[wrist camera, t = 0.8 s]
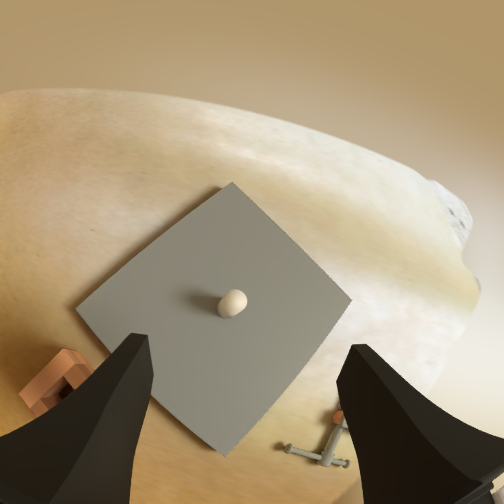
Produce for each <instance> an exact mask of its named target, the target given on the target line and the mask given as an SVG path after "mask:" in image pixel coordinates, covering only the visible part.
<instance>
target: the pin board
mask: <svg viewBox="0 0 504 504" xmlns="http://www.w3.org/2000/svg"><path fill="white" fill-rule="evenodd" d="M351 301H352V300H351V299H350V298H349V296H348V295H347V294H346V293H345V292H344V291H343V290H342V289H341V288H340V287H339V286H338V285H337V284H336V283H335V282H334V281H333V280H332V279H331V278H330V277H329V276H328V275H327V274H326V273H325V272H324V271H323V270H322V269H321V268H320V267H319V266H318V265H317V264H316V263H315V262H314V261H313V260H312V259H311V258H310V257H309V256H308V255H307V254H306V253H305V252H304V251H303V250H302V249H301V248H300V247H299V246H298V245H297V244H296V243H295V242H294V241H293V240H292V239H291V238H290V237H289V236H288V235H287V234H286V233H285V232H284V231H283V230H282V229H281V228H280V227H279V226H278V225H277V224H276V223H275V222H274V221H273V220H272V219H271V218H270V217H269V216H268V215H267V214H266V213H265V212H264V211H263V210H261V209H260V208H259V207H258V206H257V205H256V204H255V203H254V202H253V201H252V200H251V199H250V198H249V197H248V196H247V195H246V194H245V193H244V192H243V191H241V190H240V189H239V188H238V187H237V186H236V185H235V184H234V183H233V182H231V183H230V184H228V185H227V186H225V187H224V188H223V189H221V190H220V191H219V192H217V193H216V194H214V195H213V196H212V197H210V198H209V199H208V200H206V201H205V202H204V203H202V204H201V205H200V206H198V207H197V208H196V209H194V210H193V211H192V212H190V213H189V214H188V215H186V216H185V217H184V218H182V219H181V220H180V221H179V222H177V223H176V224H175V225H173V226H172V227H171V228H170V229H168V230H167V231H166V232H165V233H163V234H162V235H161V236H160V237H158V238H157V239H156V240H155V241H153V242H152V243H151V244H150V245H148V246H147V247H146V248H145V249H143V250H142V251H141V252H140V253H139V254H137V255H136V256H135V257H134V258H133V259H131V260H130V261H129V262H128V263H127V264H125V265H124V266H123V267H122V268H121V269H120V270H118V271H117V272H116V273H115V274H114V275H113V276H111V277H110V278H109V279H108V280H107V281H106V282H105V283H103V284H102V285H101V286H100V287H99V288H98V289H97V290H95V291H94V292H93V293H92V294H91V295H90V296H89V297H88V298H87V299H85V300H84V301H83V302H82V303H81V304H80V305H79V306H78V307H77V308H76V310H77V311H78V313H79V314H80V315H81V317H82V318H83V319H84V321H85V322H86V323H87V324H88V326H89V327H90V328H91V329H92V331H93V332H94V333H95V334H96V336H97V337H98V338H99V339H100V340H101V342H102V343H103V344H104V345H105V346H106V348H107V349H108V350H109V351H110V352H111V353H113V351H114V350H115V349H116V348H117V347H118V346H119V345H120V344H121V343H122V342H123V340H124V339H125V338H126V337H127V336H128V335H129V334H130V333H138V334H145V335H148V339H149V346H150V353H151V359H152V366H153V372H154V377H153V383H152V390H151V395H152V396H153V397H154V398H155V399H156V400H157V401H158V402H159V403H160V404H161V405H162V406H163V407H165V408H166V409H167V410H168V411H169V412H170V413H171V414H172V415H173V416H175V417H176V418H177V419H178V420H179V421H180V422H181V423H183V424H184V425H185V426H186V427H187V428H189V429H190V430H191V431H192V432H193V433H195V434H196V435H197V436H198V437H200V438H201V439H202V440H203V441H205V442H206V443H207V444H208V445H210V446H211V447H212V448H214V449H215V450H216V451H218V452H219V453H220V454H222V455H223V456H224V457H225V456H226V455H227V454H228V453H229V452H230V451H231V450H232V449H233V448H234V447H235V446H236V445H237V444H238V443H239V442H240V441H241V440H242V439H243V437H244V436H245V435H246V434H247V433H248V432H249V431H250V430H251V429H252V428H253V427H254V426H255V425H256V423H257V422H258V421H259V420H260V419H261V418H262V417H263V416H264V414H265V413H266V412H267V411H268V410H269V409H270V408H271V406H272V405H273V404H274V403H275V402H276V401H277V399H278V398H279V397H280V396H281V395H282V394H283V392H284V391H285V390H286V389H287V387H288V386H289V385H290V384H291V383H292V381H293V380H294V379H295V378H296V376H297V375H298V374H299V373H300V371H301V370H302V369H303V368H304V366H305V365H306V364H307V362H308V361H309V360H310V358H311V357H312V356H313V354H314V353H315V352H316V351H317V349H318V348H319V346H320V345H321V344H322V342H323V341H324V340H325V338H326V337H327V336H328V334H329V333H330V331H331V330H332V329H333V327H334V326H335V324H336V323H337V321H338V320H339V319H340V317H341V316H342V314H343V313H344V311H345V310H346V308H347V307H348V305H349V304H350V302H351Z"/></svg>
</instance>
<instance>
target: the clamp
mask: <svg viewBox="0 0 504 504" xmlns="http://www.w3.org/2000/svg"><path fill="white" fill-rule="evenodd" d="M332 424H334V425H336V428H335V430H334V432H333V434H332V437H331V439H330V441H329V443H328V445H327V448H326V450H325V451H322V452H321V454H320V455H318V454H315V453H311V452H308V451H305V450H301V449H298V448H295V447H293V445H292V444H287V445H286V447H285V453H287V454H288V453H290V452H292V453H295V454H299V455H302V456H306V457H309V458H313V459H317V464H319V465H321V466H325V467H329V466H330V464H331V463H333V464H337V465H342V466H343V468H348V467H349V466H350V460H345V461H342V460H338V459H334V456H335V454H333V452H334V449H335V447H336V445H337V443H338V441H339V438H340V436H341V434H342V432H343V429H344V428H346V429H348V426H347V423H346V420H345V417H344V414H343V411H342V410H339V409H338V411H337V412H336V413H335V414H334V416H333V423H332Z"/></svg>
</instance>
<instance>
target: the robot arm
mask: <svg viewBox="0 0 504 504" xmlns="http://www.w3.org/2000/svg"><path fill="white" fill-rule="evenodd" d="M153 377H154V372H153V366H152V359H151V353H150V346H149V339H148V335H145V334H138V333H130V334H129V335H128V336H127V337H126V338H125V339H124V340H123V342H122V343H121V344H120V345H119V346H118V347H117V348H116V349H115V350H114V351H113V353H112V354H111V355H110V356H109V357H108V358H107V359H106V360H105V361H104V362H103V363H102V364H101V365H100V366H99V367H98V368H97V369H96V370H95V371H94V372H93V373H92V374H91V375H90V376H89V377H88V378H87V379H86V380H85V381H84V382H83V383H82V384H81V385H79V386H78V387H77V388H76V389H75V390H74V391H73V392H72V393H70V394H69V395H68V396H67V397H66V398H64V399H63V400H62V401H60V402H59V403H58V404H57V405H55V406H54V407H52V408H51V409H50V410H48V411H47V412H45V413H44V414H42V415H41V416H39V417H38V418H36V419H34V420H33V421H31V422H29V423H28V424H26V425H24V426H22V427H20V428H18V429H16V430H14V431H12V432H10V433H8V434H6V435H4V436H1V437H0V504H129V499H130V487H131V477H132V468H133V461H134V455H135V450H136V446H137V443H138V439H139V435H140V432H141V428H142V425H143V421H144V418H145V414H146V411H147V407H148V404H149V400H150V395H151V390H152V383H153ZM336 383H337V389H338V395H339V400H340V404H341V408H342V411H343V414H344V417H345V420H346V423H347V426H348V429H349V432H350V435H351V438H352V441H353V444H354V448H355V451H356V455H357V458H358V463H359V469H360V475H361V481H362V490H363V498H364V504H504V486H503V487H501V488H500V489H499V490H497V491H496V492H495V493H493V494H492V495H491V492H490V490H491V489H493V488H494V485H493V483H492V481H493V480H494V479H496V478H497V477H498V476H499V475H501V474H502V473H503V472H504V439H503V438H500V437H497V436H493V435H491V434H488V433H486V432H483V431H481V430H478V429H476V428H474V427H472V426H470V425H468V424H466V423H464V422H462V421H460V420H459V419H457V418H455V417H453V416H452V415H450V414H448V413H447V412H445V411H444V410H442V409H441V408H439V407H438V406H436V405H435V404H434V403H432V402H431V401H430V400H428V399H427V398H426V397H425V396H423V395H422V394H421V393H420V392H419V391H417V390H416V389H415V388H414V387H413V386H411V385H410V384H409V383H408V382H407V381H406V380H405V379H404V378H402V377H401V376H400V375H399V374H398V373H397V372H396V371H395V370H394V369H393V368H392V367H391V366H390V365H389V364H388V363H387V362H385V361H384V360H383V359H382V358H381V357H380V356H379V355H378V354H377V353H376V352H375V351H374V350H373V349H372V348H370V347H369V346H368V345H367V344H353V345H352V346H351V348H350V351H349V353H348V355H347V358H346V360H345V363H344V365H343V367H342V369H341V372H340V374H339V376H338V378H337V381H336Z"/></svg>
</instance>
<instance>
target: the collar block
mask: <svg viewBox="0 0 504 504" xmlns="http://www.w3.org/2000/svg"><path fill="white" fill-rule="evenodd" d="M93 372H94V370H93V368H92V367H91V366H90V365H89V364H88V363H87V361H86V360H85V359H84V358H83V356H82V355H81V354H80V353H79V352H78V351H72V350H67V349H62V350H61V351H60V352H59V353H58V354H57V355H56V356H55V357H54V358H53V359H52V360H51V361H50V362H49V363H48V364H47V365H46V366H45V367H44V368H43V369H42V370H41V371H40V372H39V373H38V374H37V375H36V376H35V377H34V378H33V379H32V380H31V381H30V382H29V383H28V384H27V385H26V386H25V387H24V388H23V390H22V391H21V392H20V393H19V395H20V396H21V397H22V399H23V400H24V402H25V403H26V404H27V406H28V407H29V408H30V409H31V411H32V412H33V413H34V415H35V416H36V417H37V418H38V417H39V416H41V415H42V414H44V413H45V412H47V411H48V410H50V409H51V408H52V407H54V406H55V405H57V404H58V403H59V402H60V401H62V399H61V397H60V396H59V395H58V394H59V393H60V392H61V391H62V390H63V389H64V388H65V387H66V386H67V385H68V384H69V383H70V385H71V386H72V387H73V388H74V389H76V388H77V387H78V386H79V385H81V384H82V383H83V382H84V381H85V380H86V379H87V378H88V377H89V376H90V375H91V374H92V373H93Z"/></svg>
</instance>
